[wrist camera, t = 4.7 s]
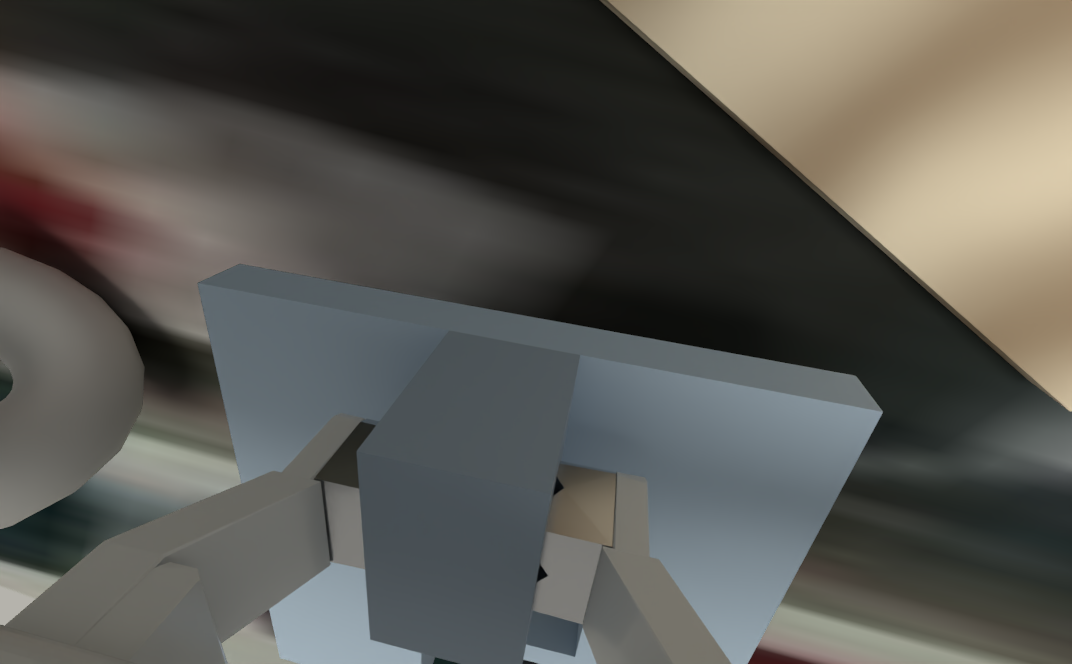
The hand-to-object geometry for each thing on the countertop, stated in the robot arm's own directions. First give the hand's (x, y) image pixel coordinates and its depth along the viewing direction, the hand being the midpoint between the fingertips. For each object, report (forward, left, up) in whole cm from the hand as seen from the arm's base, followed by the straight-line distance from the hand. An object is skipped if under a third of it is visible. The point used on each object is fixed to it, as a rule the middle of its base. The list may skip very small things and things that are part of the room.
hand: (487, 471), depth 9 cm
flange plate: (+2, -4, -3) cm, 5 cm away
